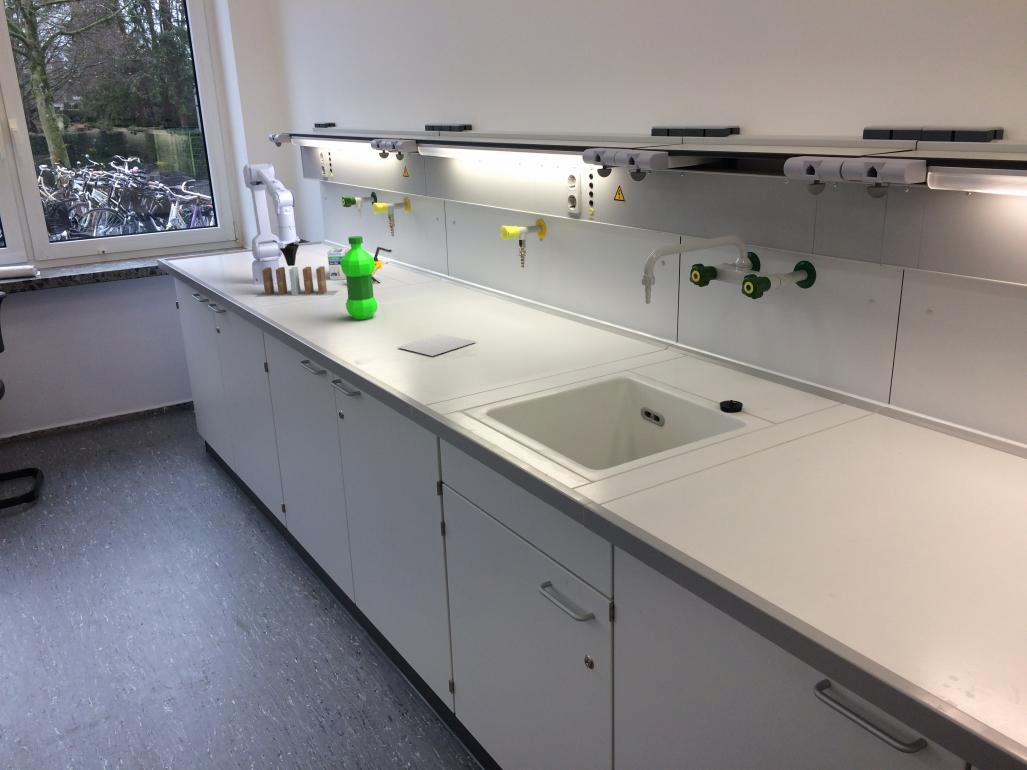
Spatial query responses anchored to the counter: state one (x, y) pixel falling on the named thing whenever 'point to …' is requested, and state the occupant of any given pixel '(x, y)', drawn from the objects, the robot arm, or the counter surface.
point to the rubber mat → (302, 293)
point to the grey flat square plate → (437, 344)
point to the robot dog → (378, 261)
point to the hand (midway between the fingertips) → (291, 265)
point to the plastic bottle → (359, 280)
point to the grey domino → (294, 280)
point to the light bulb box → (336, 263)
